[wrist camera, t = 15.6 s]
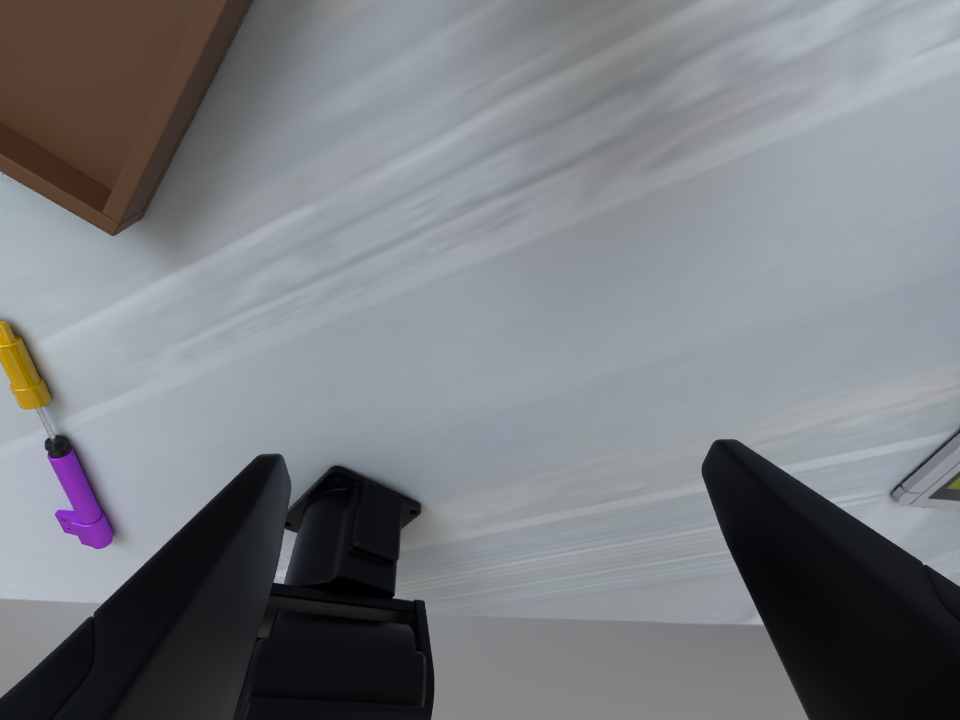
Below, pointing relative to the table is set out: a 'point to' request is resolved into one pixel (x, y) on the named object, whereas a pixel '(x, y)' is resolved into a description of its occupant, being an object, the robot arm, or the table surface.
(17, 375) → the purple piston rod
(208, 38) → the tray
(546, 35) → the table surface
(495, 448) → the table surface
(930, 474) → the handheld gaming device
